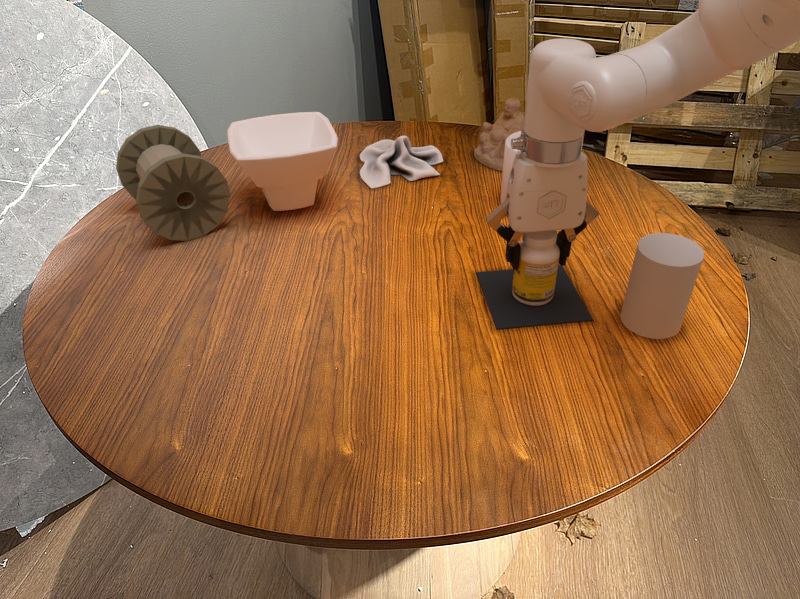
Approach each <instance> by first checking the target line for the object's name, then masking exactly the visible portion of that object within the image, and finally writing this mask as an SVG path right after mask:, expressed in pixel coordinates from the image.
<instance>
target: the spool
mask: <svg viewBox="0 0 800 599" xmlns="http://www.w3.org/2000/svg"><path fill="white" fill-rule="evenodd" d="M115 169H116V173H117V175H118V178H119V181H120V184H121V185H122V187H123V188H124V189H125V190H126V191H127V193H128V194H129V195H130V196H131V197H132V198H133V199H135V203H136V206H137V209H138V212H139V215H140V218H141V220H142V221H143V223H144V224H145V225H146V226H147V227H149V229H150V230H151V231H152V232H153V234H156V235H158V236H161V237H163V238H165V239H167V240H170V241H182V242H183V241H185V242H186V241H191V240H194V239H198V238H201V237H204V236H206V235H207V234H209V233H210V232H212V231H213V230H215V228H217V227H218V226H219V225H220V224H221V222H222V220H223V219H224V217H225V216H226V214H227V212H228V210H229V205H230V199H231V192H230V188H229V184H228V180H227V178H226V177H225V176H224V175H223V173H222V171H220V169H219V168H218V167H217V165H216V164H215V163H213V162H211V161H210V160H207V159H206V158H205V157H203V156H202V153H201V150H200V148H199V147H198V146H197V145H196V143H195V142H194V140H192V138H191V137H190V136H189V135H187V133H185V132H183V131H181V130H179V129H178V128H176V127H173V126H168V125H162V124H156V125H155V124H154V125H151V126H146V127H141V128H140V129H138V130H136V131H134V133H132V134H130V135H129V136H128V137H126V138H125V140H124V142H123V143H122V145H121V146H120V148H119V149H118V151H117V157H116V166H115Z"/></svg>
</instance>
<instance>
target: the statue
mask: <svg viewBox="0 0 800 599" xmlns="http://www.w3.org/2000/svg"><path fill="white" fill-rule="evenodd" d="M521 107H522V103H521V101H520V100H519V99H518V98H516V97H509V98H507V99H506V100H505V101H504V103H503V108H502V110H503V111H502V113H500V115H499V117H498V118H497V119H496V121H495V122H494V123H493V124H492V123H491V122H487V121H484V122H483V123H482V131H481V133H479V138H478V139H479V144H478V146H476V147H475V148H474V150H473V157H474V159H475V160H476V161H477V162H479V163H480V164H482V165H483V166H485V167H487V168H490V169H493V170H495V171H499V172H503V162H504V150H505V141H506V139H507V138H508V137H509V136H510V135H511V134H513V133H516V132H519V131H521V130H523V127H524V117H525V114H523V113H522V112H521Z"/></svg>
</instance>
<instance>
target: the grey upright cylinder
mask: <svg viewBox="0 0 800 599" xmlns="http://www.w3.org/2000/svg"><path fill="white" fill-rule="evenodd" d="M704 259H705V251H704V249H703V248H702V246H701V245H699V243H697V242H695V241H694V240H693V239H690V238H688V237H686V236H683V235H680V234H676V233H672V232H671V233H669V232H654V233H653V232H652V233H649V234H646V235H644V236H642V237H641V238H639V240H638V242H637V244H636V249H635V254H634V257H633V261H632V266H631V269H630V273H629V278H628V282H627V286H626V290H625V293H624V298H623V303H622V307H621V311H620V321H621V323H622V325H623V326H624V327H625V328H626V329H628V330H629V331H630V332H631V333H634V334H635V335H638V336H641V337H643V338H646V339H651V340H665V339H670V338H673V337H675V336H676V335H678V333H679V332H680V331H681V328H682V325H683V322H684V319H685V316H686V313H687V310H688V307H689V304H690V300H691V298H692V294H693V292H694V289H695V286H696V282H697V280H698V277H699V276H698V275H699V274H700V270H701V268H702V265H703V262H704Z"/></svg>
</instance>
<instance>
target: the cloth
mask: <svg viewBox="0 0 800 599" xmlns="http://www.w3.org/2000/svg"><path fill="white" fill-rule="evenodd" d="M443 158H444V157H443V154H442V153H441V151H440V150H439V149H438V148H437V147H436V146H435V145H432V144H429V145H425V146H413V145H412V143H411V140H410V138H409V136H407V135H400V136H398V137H397V138H396V139H395V140H393V139H388V138H386V139H385V138H384V139H381V140H378V141H376V142H374V143H371V144H369V145H367V146H366V147H364V148H363V150H362V151H361V152H360V153H359V159H360V161H361V162H362V163H363V165H362V167H361V168H360V169H359V176H360V178H361V180H362V181H363V182H364V183H365V184H366V186H368V188H370V190H374V189H378V188H382V187H385V186H388V185H390V184H391V183H392V181H391V177H392V176H402V177H403V178H404V179H406V180H407V181H409V182H413V181H417V180H419V179H423V178H431V177H438V176H440V175H441V173H439V171H437V170H436V169H435V167H433V166H435V165H439V164H441V163H443V162H444V159H443Z"/></svg>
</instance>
